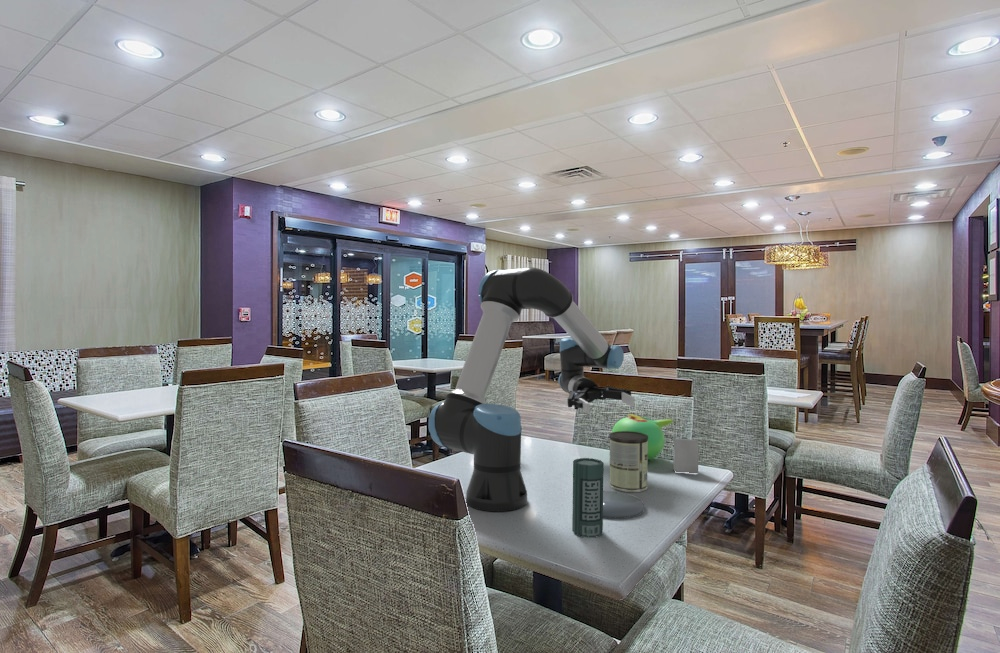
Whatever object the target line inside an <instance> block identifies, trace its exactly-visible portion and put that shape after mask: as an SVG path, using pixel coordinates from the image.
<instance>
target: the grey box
mask: <svg viewBox="0 0 1000 653" xmlns="http://www.w3.org/2000/svg"><path fill="white" fill-rule="evenodd" d="M672 461H673V465H672V466H673V467H672V468H673V469H674V471H676V472H689V473H698V474H699V440H698V439H688V438H673V460H672ZM674 471H673V472H674Z"/></svg>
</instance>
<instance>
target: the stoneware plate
mask: <svg viewBox="0 0 1000 653" xmlns="http://www.w3.org/2000/svg"><path fill="white" fill-rule="evenodd" d="M643 513H645V503H644V501H643V500H642V499H641V498H639V497H638V496H634V495H632V494H630V493H627V492H626V493H625V492H622V491H616V490H615V491H614V490H603V519H604V518H606V519H615V520H616V519H631V518H634V517H637V516H641V515H642V514H643Z"/></svg>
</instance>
